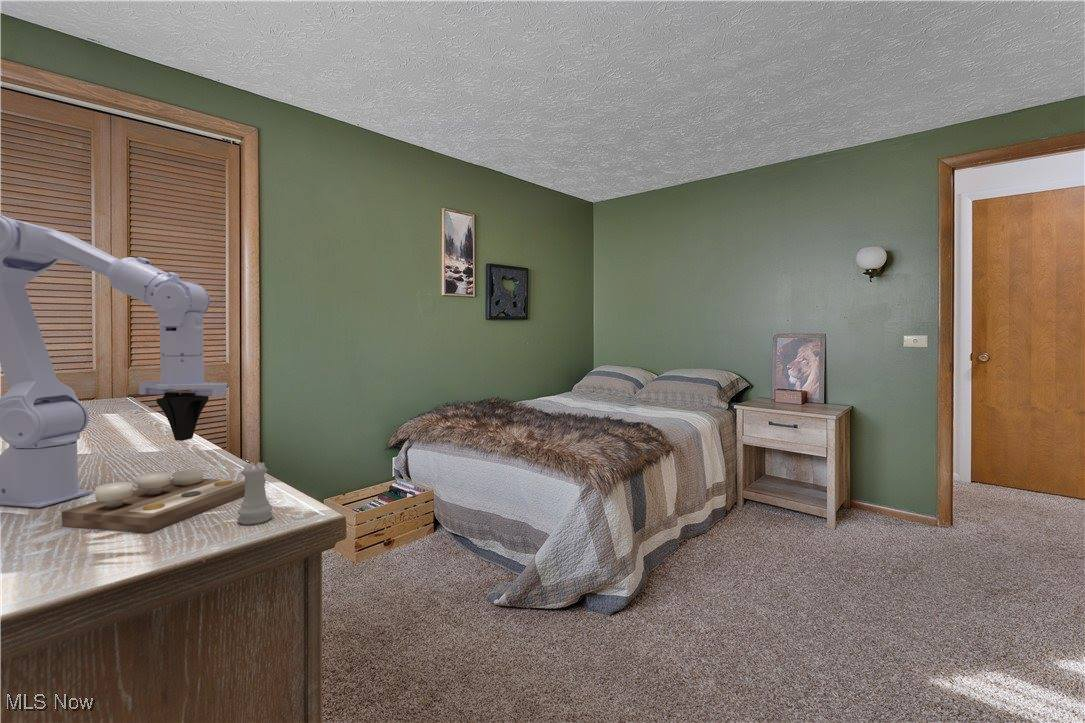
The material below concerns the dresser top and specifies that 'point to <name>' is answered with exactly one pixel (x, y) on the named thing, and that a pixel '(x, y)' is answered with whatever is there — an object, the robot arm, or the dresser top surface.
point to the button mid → (153, 481)
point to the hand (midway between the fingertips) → (183, 439)
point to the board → (155, 507)
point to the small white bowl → (188, 477)
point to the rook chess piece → (254, 496)
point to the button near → (113, 493)
